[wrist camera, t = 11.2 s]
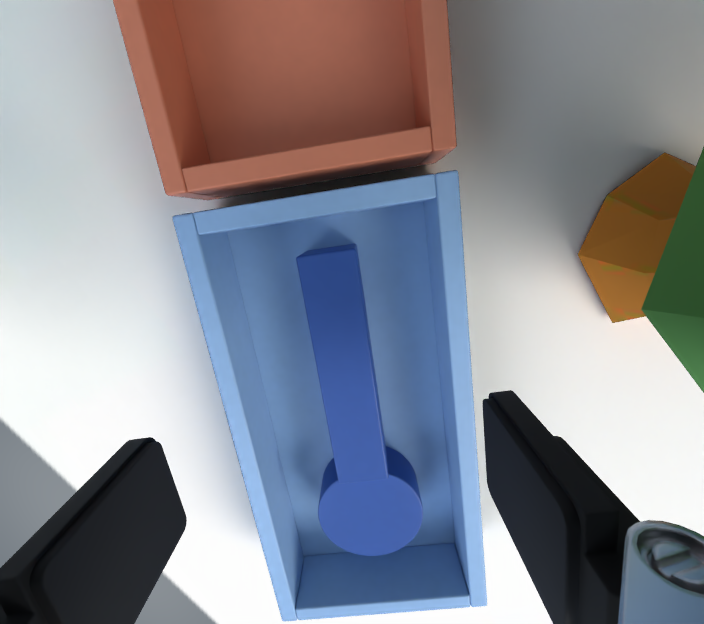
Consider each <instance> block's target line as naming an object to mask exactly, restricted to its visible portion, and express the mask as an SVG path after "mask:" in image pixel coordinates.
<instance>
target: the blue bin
mask: <svg viewBox="0 0 704 624" xmlns="http://www.w3.org/2000/svg"><path fill="white" fill-rule="evenodd" d="M173 222H174V226H175V230H176V233H177V237H178V240H179V244H180V248H181V251H182V255H183V259H184V262H185V266H186V270H187V273H188V277H189V281H190V284H191V288H192V292H193V295H194V299H195V303H196V306H197V310H198V314H199V317H200V321H201V325H202V328H203V332H204V336H205V339H206V343H207V347H208V350H209V354H210V358H211V361H212V365H213V369H214V372H215V376H216V379H217V383H218V387H219V390H220V394H221V398H222V401H223V405H224V409H225V412H226V416H227V420H228V423H229V427H230V431H231V434H232V438H233V442H234V445H235V449H236V453H237V456H238V460H239V464H240V467H241V471H242V475H243V478H244V482H245V486H246V489H247V493H248V497H249V500H250V504H251V508H252V511H253V515H254V518H255V522H256V526H257V529H258V533H259V537H260V540H261V544H262V548H263V551H264V555H265V559H266V562H267V566H268V570H269V573H270V577H271V581H272V584H273V588H274V592H275V595H276V599H277V603H278V606H279V610H280V614H281V617H282V621H295V620H297V618H298V620H307V619H320V618H333V617H346V616H359V615H373V614H386V613H399V612H412V611H425V610H438V609H451V608H464V607H470V605H471V606H472V607H477V606H486V605H487V595H486V580H485V565H484V550H483V535H482V520H481V505H480V490H479V475H478V460H477V445H476V430H475V415H474V400H473V385H472V370H471V355H470V340H469V326H468V311H467V296H466V281H465V266H464V251H463V236H462V221H461V206H460V191H459V176H458V171H457V170H453V171H447V172H440V173H436V174H435V175H434V174H428V175H421V176H415V177H409V178H403V179H397V180H391V181H384V182H378V183H372V184H366V185H360V186H353V187H347V188H341V189H335V190H329V191H323V192H316V193H310V194H304V195H298V196H292V197H286V198H279V199H273V200H267V201H261V202H255V203H248V204H242V205H236V206H230V207H224V208H218V209H211V210H205V211H199V212H194V213H187V214H181V215H175V216H173ZM348 244H356V245H357V249H358V256H359V263H360V270H361V277H362V284H363V291H364V298H365V305H366V312H367V319H368V326H369V332H370V339H371V346H372V353H373V360H374V367H375V374H376V381H377V388H378V395H379V402H380V409H381V416H382V423H383V430H384V437H385V444H386V446H387V447H390V448H392V449H394V450H396V451H398V452H399V453H401V454H402V455H403V456H404V457H405V458H406V459H407V460H408V461H409V462H410V464H411V465H412V467H413V469H414V471H415V473H416V477H417V482H418V487H419V492H420V497H421V501H422V506H423V521H422V524H421V527H420V529H419V531H418V533H417V534H416V536H415V537H414V538H413V539H412V541H411V542H409V543H408V544H407V545H406V546H404V547H403V548H401V549H399V550H397V551H395V552H392V553H389V554H385V555H379V556H363V555H357V554H354V553H351V552H348V551H346V550H344V549H342V548H340V547H338V546H337V545H335V544H334V543H333V542H332V541H331V540H330V539H329V538H328V537H327V536H326V534H325V533H324V531H323V530H322V527H321V525H320V522H319V518H318V505H319V499H320V492H321V486H322V479H323V474H324V471H325V469H326V467H327V465H328V463H329V462H330V461H331V459H332V458H333V452H332V446H331V441H330V436H329V431H328V425H327V420H326V415H325V409H324V404H323V399H322V394H321V388H320V383H319V378H318V373H317V367H316V362H315V357H314V352H313V346H312V341H311V336H310V330H309V325H308V320H307V315H306V309H305V304H304V299H303V294H302V288H301V283H300V278H299V273H298V267H297V262H296V257H298V256H299V255H301V254H303V253H304V252H306V251H308V250H314V249H321V248H328V247H334V246H341V245H348Z"/></svg>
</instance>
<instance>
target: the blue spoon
mask: <svg viewBox="0 0 704 624" xmlns="http://www.w3.org/2000/svg"><path fill="white" fill-rule="evenodd" d="M296 262H297V267H298V273H299V278H300V283H301V288H302V294H303V299H304V304H305V309H306V315H307V320H308V325H309V330H310V336H311V341H312V346H313V352H314V357H315V362H316V367H317V373H318V378H319V383H320V388H321V394H322V399H323V404H324V409H325V415H326V420H327V425H328V431H329V436H330V441H331V446H332V452H333V458H332V459H331V461H330V462H329V463H328V465H327V467H326V469H325V471H324V474H323V479H322V486H321V492H320V499H319V505H318V518H319V522H320V525H321V527H322V530H323V531H324V533H325V534H326V536H327V537H328V538H329V539H330V540H331V541H332V542H333V543H334V544H335V545H337V546H338V547H340V548H342V549H344V550H346V551H348V552H351V553H354V554H357V555H363V556H379V555H385V554H389V553H392V552H395V551H397V550H399V549H401V548H403V547H404V546H406V545H407V544H408V543H409V542H411V541H412V539H413V538H414V537H415V536H416V534H417V533H418V531H419V529H420V527H421V524H422V521H423V506H422V501H421V497H420V492H419V487H418V482H417V477H416V473H415V471H414V469H413V467H412V465H411V464H410V462H409V461H408V460H407V459H406V458H405V457H404V456H403V455H402V454H401V453H399V452H398V451H396V450H394V449H392V448H390V447H387V446H386V444H385V437H384V430H383V423H382V416H381V409H380V402H379V395H378V388H377V381H376V374H375V367H374V360H373V353H372V346H371V339H370V332H369V326H368V319H367V312H366V305H365V298H364V291H363V284H362V277H361V270H360V263H359V256H358V249H357V245H356V244H348V245H341V246H334V247H328V248H321V249H314V250H308V251H306V252H304V253H303V254H301V255H299V256H298V257H296Z"/></svg>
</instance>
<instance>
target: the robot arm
mask: <svg viewBox="0 0 704 624" xmlns="http://www.w3.org/2000/svg"><path fill="white" fill-rule="evenodd" d="M483 419H484V437H485V454H486V472H487V484H488V488H489V491H490V494H491V496H492V498H493V500H494V503H495V505H496V507H497V509H498V511H499V513H500V515H501V517H502V519H503V521H504V523H505V525H506V527H507V529H508V531H509V533H510V535H511V538H512V540H513V542H514V544H515V546H516V548H517V550H518V552H519V554H520V556H521V558H522V560H523V562H524V564H525V566H526V568H527V571H528V573H529V575H530V577H531V579H532V581H533V583H534V585H535V587H536V589H537V591H538V593H539V595H540V597H541V599H542V601H543V604H544V606H545V608H546V610H547V612H548V614H549V616H550V618H551V620H552V622H553V624H704V536H702V535H700V534H699V533H697V532H694V531H692V530H690V529H687V528H685V527H682V526H680V525H676V524H672V523H668V522H664V521H651V520H647V521H643V522H640V521H639V520H638V519H637V518H636V517H635V516H634V515H633V514H632V512H631V511H630V510H629V509H628V508H627V507H626V506H625V505H624V504H623V503H622V502H621V501H620V500H619V498H618V497H617V496H616V495H615V494H614V493H613V492H612V491H611V490H610V489H609V488H608V487H607V486H606V484H605V483H604V482H603V481H602V480H601V479H600V478H599V477H598V476H597V475H596V474H595V473H594V472H593V470H592V469H591V468H590V467H589V466H588V465H587V464H586V463H585V462H584V461H583V460H582V459H581V458H580V456H579V455H578V454H577V453H576V452H575V451H574V450H573V449H572V448H571V447H570V446H569V445H568V444H567V442H566V441H564V440H563V439H562V438H561V437H558V436H553V435H552V434H551V433H550V432H549V431H548V430H547V429H546V428H545V426H544V425H543V424H542V423H541V422H540V421H539V420H538V419H537V417H536V416H535V415H534V414H533V413H532V412H531V411H530V410H529V409H528V407H527V406H526V405H525V404H524V403H523V402H522V401H521V400H520V398H519V397H518V396H517V395H516V394H515V393H514V392H513V391H511V390H510V391H502V392H494V393H490V394H489V399H484V400H483ZM185 527H186V514H185V512H184V509H183V506H182V503H181V500H180V497H179V494H178V491H177V489H176V486H175V483H174V480H173V477H172V474H171V471H170V468H169V466H168V463H167V460H166V457H165V454H164V451H163V448H162V446H161V444H160V443H159V442H156V441H155V440H154V439H153V438H151V437H149V438H141V439H134V440H129V441H128V442H126V443H125V444H124V445H123V446H122V447H121V448H120V449H119V450H118V451H117V452H116V453H115V454H114V455H113V456H112V457H111V458H110V459H109V460H108V461H107V462H106V463H105V464H104V465H103V466H102V467H101V468H100V469H99V470H98V471H97V472H96V473H95V474H94V475H93V476H92V477H91V478H90V479H89V480H88V481H87V482H86V483H85V484H84V485H83V486H82V487H81V488H80V489H79V490H78V491H77V492H76V493H75V494H74V495H73V496H72V497H71V498H70V499H69V500H68V501H67V502H66V503H65V504H64V505H63V506H62V507H61V508H60V509H59V510H58V511H57V512H56V513H55V514H54V515H53V516H52V517H51V518H50V519H49V520H48V521H47V522H46V523H45V524H44V525H43V526H42V527H41V528H40V529H39V530H38V531H37V532H36V533H35V534H34V535H33V536H32V537H31V538H30V539H29V540H28V541H27V542H26V543H25V544H24V545H23V546H22V547H21V548H20V549H19V550H18V551H17V552H16V553H15V554H14V555H13V556H12V557H11V558H10V559H9V560H8V561H7V562H6V563H5V564H4V565H3V566H2V567H1V568H0V624H134V623H135V621H136V619H137V618H138V616H139V614H140V612H141V610H142V608H143V607H144V605H145V603H146V601H147V599H148V597H149V595H150V594H151V592H152V590H153V588H154V586H155V584H156V582H157V581H158V579H159V577H160V575H161V573H162V571H163V569H164V568H165V566H166V564H167V562H168V560H169V558H170V556H171V555H172V553H173V551H174V549H175V547H176V545H177V543H178V542H179V540H180V538H181V536H182V534H183V532H184V530H185Z"/></svg>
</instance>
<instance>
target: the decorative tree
mask: <svg viewBox="0 0 704 624" xmlns="http://www.w3.org/2000/svg"><path fill="white" fill-rule="evenodd" d="M578 256H579V258H580V260H581V262H582V264H583V266H584V268H585V270H586V272H587V274H588V276H589V278H590V280H591V282H592V284H593V286H594V288H595V290H596V292H597V294H598V296H599V297H600V299H601V301H602V303H603V305H604V307H605V309H606V311H607V313H608V315H609V317H610V319H611V321H612V323H615V322H619V321H624V320H629V319H634V318H639V317H644V316H647V318H648V319H649V320H650V322H651V323H652V324H653V326H654V327H655V328H656V330H657V331H658V332H659V334H660V335H661V336H662V338H663V339H664V340H665V342H666V343H667V344H668V346H669V347H670V348H671V350H672V351H673V352H674V354H675V355H676V356H677V358H678V359H679V360H680V362H681V363H682V364H683V366H684V367H685V368H686V370H687V371H688V372H689V374H690V375H691V376H692V378H693V379H694V380H695V382H696V383H697V384H698V386H699V387H700V388H701V390H702V391H703V392H704V147H703V150H702V153H701V155H700V158H699V160H698V163H697V166H694V165H692V164H690V163H687V162H685V161H683V160H681V159H678V158H676V157H674V156H672V155H670V154H667V153H663V154H662V155H661V156H659V157H658V158H656V159H655V160H654V161H652V162H651V163H650V164H648V165H647V166H646V167H644V168H643V169H642V170H640V171H639V172H638V173H636V174H635V175H634V176H632V177H631V178H629V179H628V180H627V181H625V182H624V183H623V184H621V185H620V186H619V187H617V188H616V189H615V190H613V191H612V192H611V193H609V194H608V195H607V196H606V198H605V200H604V202H603V204H602V206H601V208H600V210H599V212H598V214H597V216H596V218H595V220H594V222H593V224H592V227H591V229H590V231H589V233H588V235H587V237H586V239H585V241H584V243H583V245H582V247H581V249H580V251H579V253H578Z"/></svg>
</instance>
